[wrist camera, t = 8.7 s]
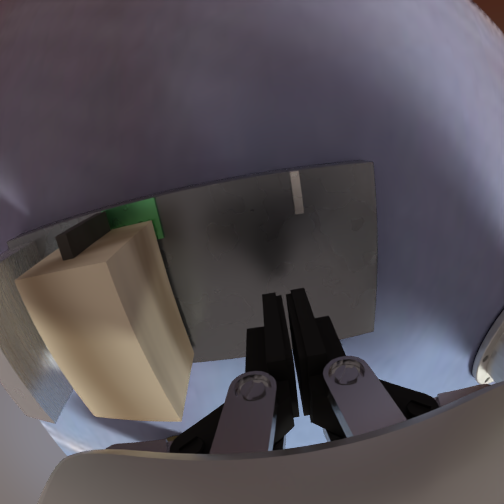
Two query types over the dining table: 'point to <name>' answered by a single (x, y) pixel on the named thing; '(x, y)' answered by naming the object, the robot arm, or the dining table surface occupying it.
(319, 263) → the gauge rail
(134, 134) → the dining table surface
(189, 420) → the dining table surface
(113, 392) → the block
